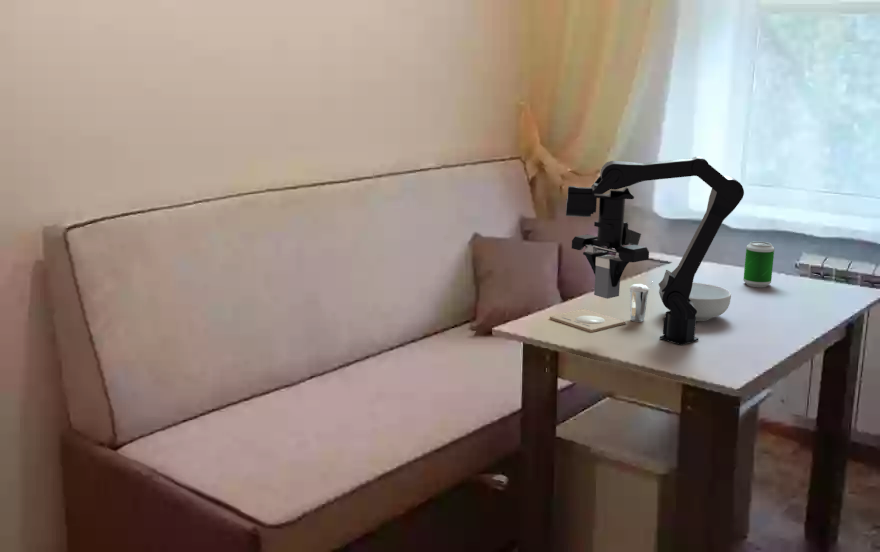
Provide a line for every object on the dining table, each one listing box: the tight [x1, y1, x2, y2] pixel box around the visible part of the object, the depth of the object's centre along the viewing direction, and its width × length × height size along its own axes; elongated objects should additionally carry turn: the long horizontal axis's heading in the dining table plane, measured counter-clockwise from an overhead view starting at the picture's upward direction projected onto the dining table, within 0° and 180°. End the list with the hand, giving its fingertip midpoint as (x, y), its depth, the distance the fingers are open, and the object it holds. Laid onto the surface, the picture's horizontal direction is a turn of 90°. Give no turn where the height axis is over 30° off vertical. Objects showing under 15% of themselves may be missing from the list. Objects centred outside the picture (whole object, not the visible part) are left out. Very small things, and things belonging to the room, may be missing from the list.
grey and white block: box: [593, 254, 621, 300], centre depth 220 cm, size 4×4×9 cm
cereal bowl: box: [666, 282, 732, 322], centre depth 240 cm, size 17×17×7 cm
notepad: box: [549, 308, 626, 333], centre depth 235 cm, size 14×12×1 cm
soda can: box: [742, 241, 775, 288], centre depth 272 cm, size 8×8×12 cm
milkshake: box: [629, 282, 653, 323], centre depth 235 cm, size 4×5×10 cm
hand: (607, 284), depth 220 cm, fingers closed on grey and white block, 4 cm apart
